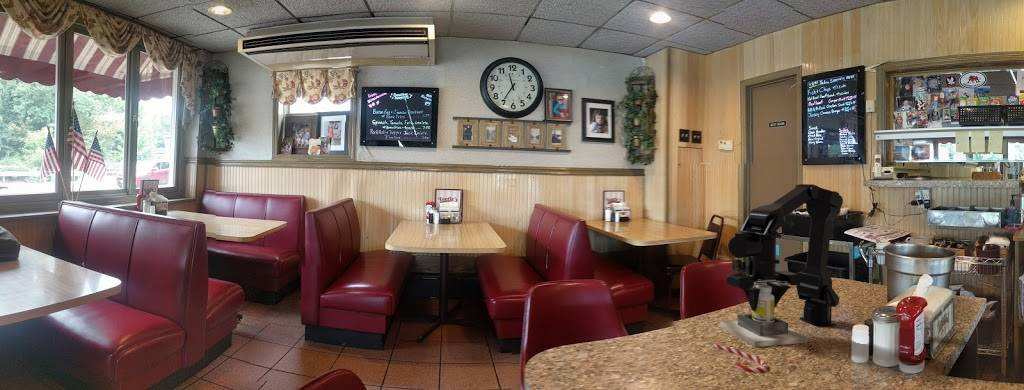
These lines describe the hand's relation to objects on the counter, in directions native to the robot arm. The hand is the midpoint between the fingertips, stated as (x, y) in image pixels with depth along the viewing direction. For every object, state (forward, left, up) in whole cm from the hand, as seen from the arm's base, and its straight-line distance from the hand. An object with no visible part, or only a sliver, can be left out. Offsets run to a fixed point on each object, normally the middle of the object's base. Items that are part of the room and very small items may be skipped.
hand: (762, 309), depth 117 cm
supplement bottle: (0, 0, -3) cm, 3 cm away
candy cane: (+17, +12, -8) cm, 22 cm away
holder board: (0, 0, -7) cm, 7 cm away
